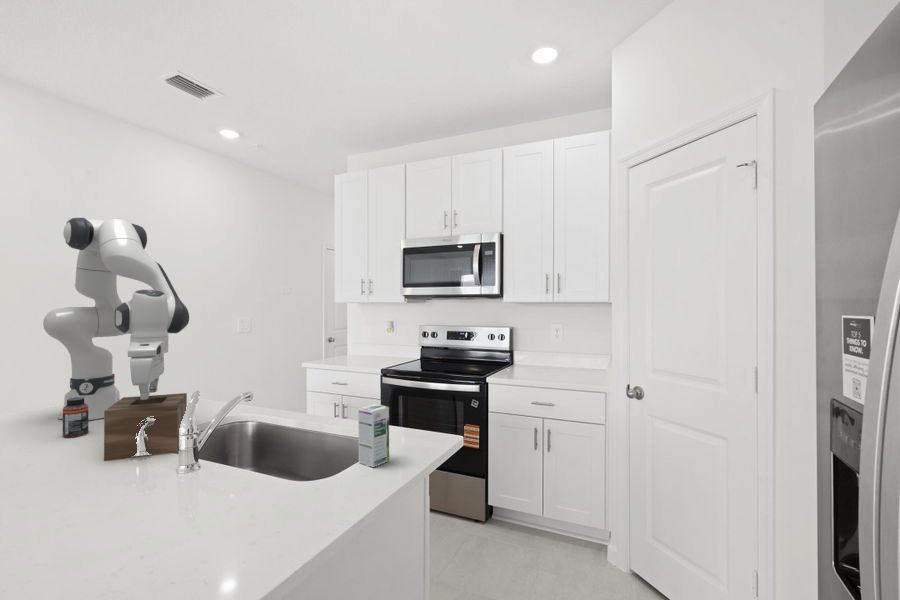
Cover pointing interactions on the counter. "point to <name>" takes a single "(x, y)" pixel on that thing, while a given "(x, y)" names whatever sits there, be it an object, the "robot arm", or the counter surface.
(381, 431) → the syrup box
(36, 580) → the counter surface
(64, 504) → the counter surface
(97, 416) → the robot arm
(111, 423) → the box
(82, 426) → the supplement bottle
